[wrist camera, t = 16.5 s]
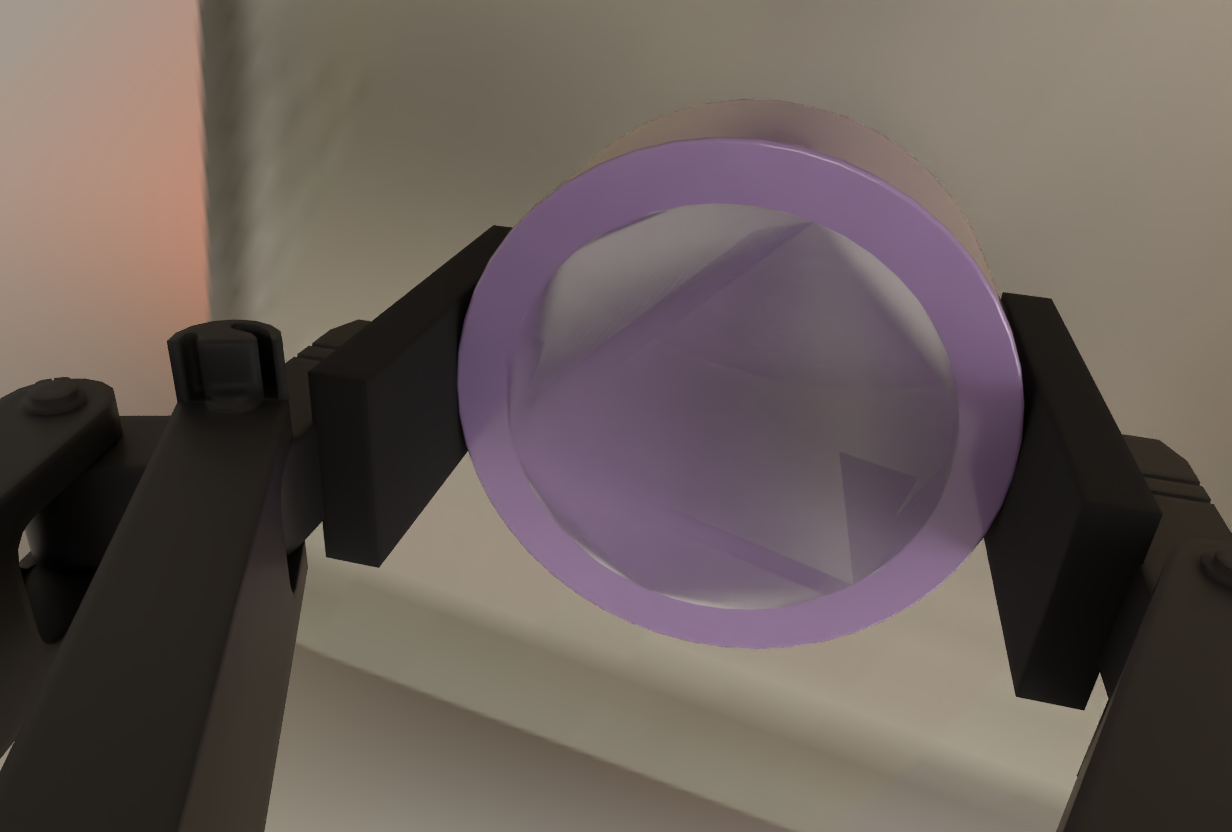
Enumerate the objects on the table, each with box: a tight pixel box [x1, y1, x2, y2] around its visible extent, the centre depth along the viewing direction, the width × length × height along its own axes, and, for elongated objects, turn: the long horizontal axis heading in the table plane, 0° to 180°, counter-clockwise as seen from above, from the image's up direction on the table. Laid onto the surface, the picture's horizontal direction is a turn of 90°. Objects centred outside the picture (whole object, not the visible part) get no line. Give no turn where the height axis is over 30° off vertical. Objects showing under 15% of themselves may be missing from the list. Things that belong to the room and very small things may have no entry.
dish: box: [457, 99, 1025, 649], centre depth 15 cm, size 8×8×4 cm
